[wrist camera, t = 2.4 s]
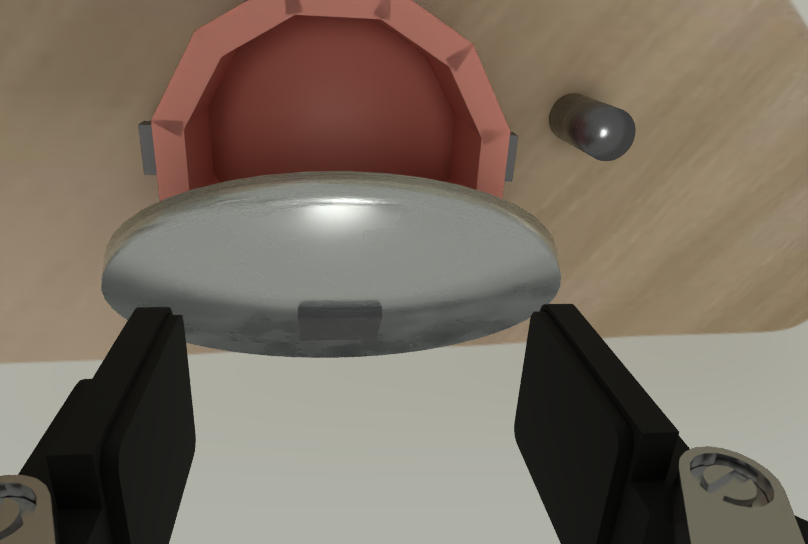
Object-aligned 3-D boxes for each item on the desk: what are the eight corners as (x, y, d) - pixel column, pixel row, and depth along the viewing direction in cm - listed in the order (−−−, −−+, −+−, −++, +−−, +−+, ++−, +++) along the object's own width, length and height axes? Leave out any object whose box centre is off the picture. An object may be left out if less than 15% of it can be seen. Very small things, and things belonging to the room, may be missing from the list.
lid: (14, 148, 17) (0, 219, 16) (638, 163, 20) (652, 225, 19) (170, 333, 35) (167, 371, 34) (489, 329, 37) (493, 364, 36)
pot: (140, -27, 34) (90, -34, 27) (515, -4, 37) (562, -5, 30) (173, 285, 42) (142, 345, 34) (482, 284, 45) (514, 339, 37)
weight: (552, 92, 40) (589, 107, 34) (596, 94, 40) (640, 109, 35) (546, 139, 41) (580, 160, 35) (588, 140, 41) (629, 161, 36)
